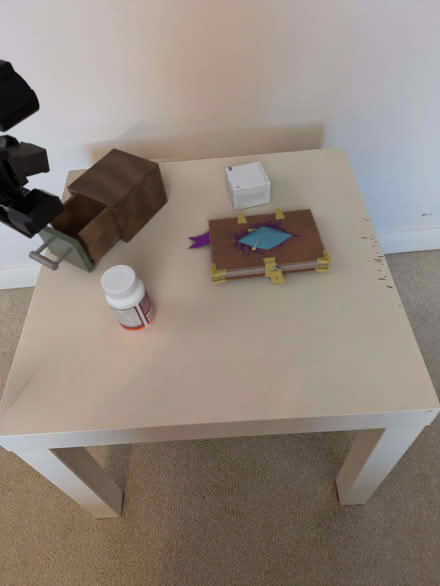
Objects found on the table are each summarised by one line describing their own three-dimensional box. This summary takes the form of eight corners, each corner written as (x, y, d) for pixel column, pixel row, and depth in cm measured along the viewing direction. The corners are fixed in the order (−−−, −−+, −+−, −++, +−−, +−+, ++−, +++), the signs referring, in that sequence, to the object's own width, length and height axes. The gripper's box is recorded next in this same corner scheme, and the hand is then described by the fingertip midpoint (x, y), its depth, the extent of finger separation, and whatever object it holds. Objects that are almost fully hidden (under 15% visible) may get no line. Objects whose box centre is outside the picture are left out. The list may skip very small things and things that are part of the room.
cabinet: (127, 243, 73) (112, 206, 66) (85, 224, 78) (66, 187, 70) (168, 201, 80) (158, 163, 72) (126, 185, 84) (113, 147, 76)
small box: (270, 203, 77) (271, 183, 73) (234, 211, 76) (232, 191, 72) (260, 180, 81) (260, 160, 77) (225, 187, 81) (224, 167, 77)
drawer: (72, 291, 66) (53, 263, 60) (34, 269, 70) (12, 241, 64) (132, 230, 74) (121, 199, 68) (94, 213, 78) (80, 183, 71)
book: (187, 233, 75) (183, 214, 71) (309, 219, 74) (312, 199, 71) (189, 297, 65) (185, 278, 61) (331, 281, 64) (335, 262, 60)
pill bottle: (143, 296, 66) (125, 254, 56) (162, 319, 63) (146, 279, 53) (113, 316, 64) (89, 276, 55) (131, 340, 61) (109, 302, 52)
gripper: (68, 135, 48) (107, 223, 60) (-22, 104, 54) (30, 189, 67) (-1, 186, 43) (57, 270, 55) (-91, 145, 49) (-20, 229, 62)
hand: (31, 236), depth 60 cm, fingers closed
